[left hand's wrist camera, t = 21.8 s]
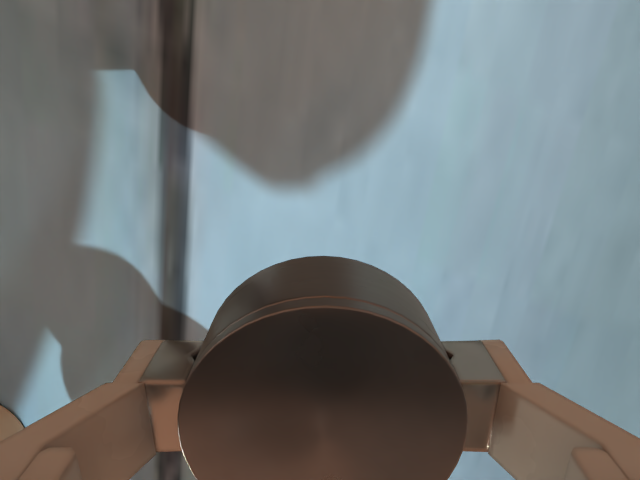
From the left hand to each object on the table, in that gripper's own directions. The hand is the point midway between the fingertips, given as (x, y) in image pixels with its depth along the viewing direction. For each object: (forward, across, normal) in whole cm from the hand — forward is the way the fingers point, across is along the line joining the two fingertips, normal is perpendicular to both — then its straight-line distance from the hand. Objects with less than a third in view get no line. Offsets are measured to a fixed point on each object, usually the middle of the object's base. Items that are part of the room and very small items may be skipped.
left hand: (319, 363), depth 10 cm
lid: (-2, 0, 0) cm, 2 cm away
